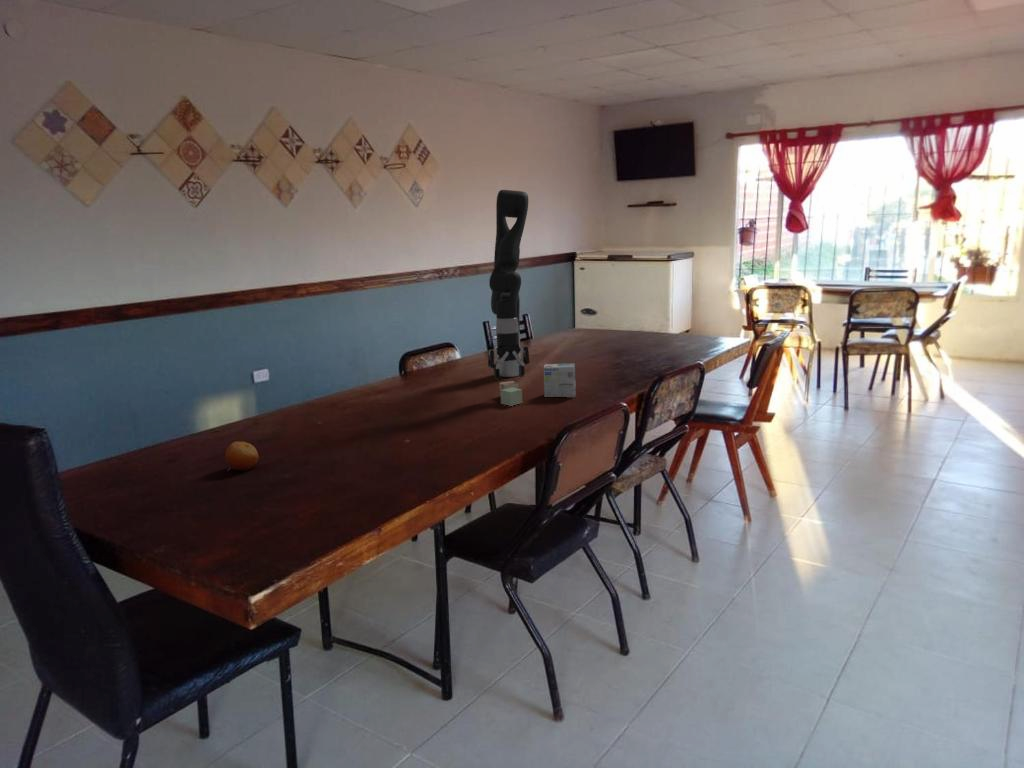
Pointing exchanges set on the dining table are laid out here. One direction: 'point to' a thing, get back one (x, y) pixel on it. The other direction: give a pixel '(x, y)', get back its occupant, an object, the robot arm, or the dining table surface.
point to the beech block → (508, 385)
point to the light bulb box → (559, 380)
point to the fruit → (241, 456)
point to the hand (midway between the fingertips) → (509, 378)
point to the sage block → (511, 396)
